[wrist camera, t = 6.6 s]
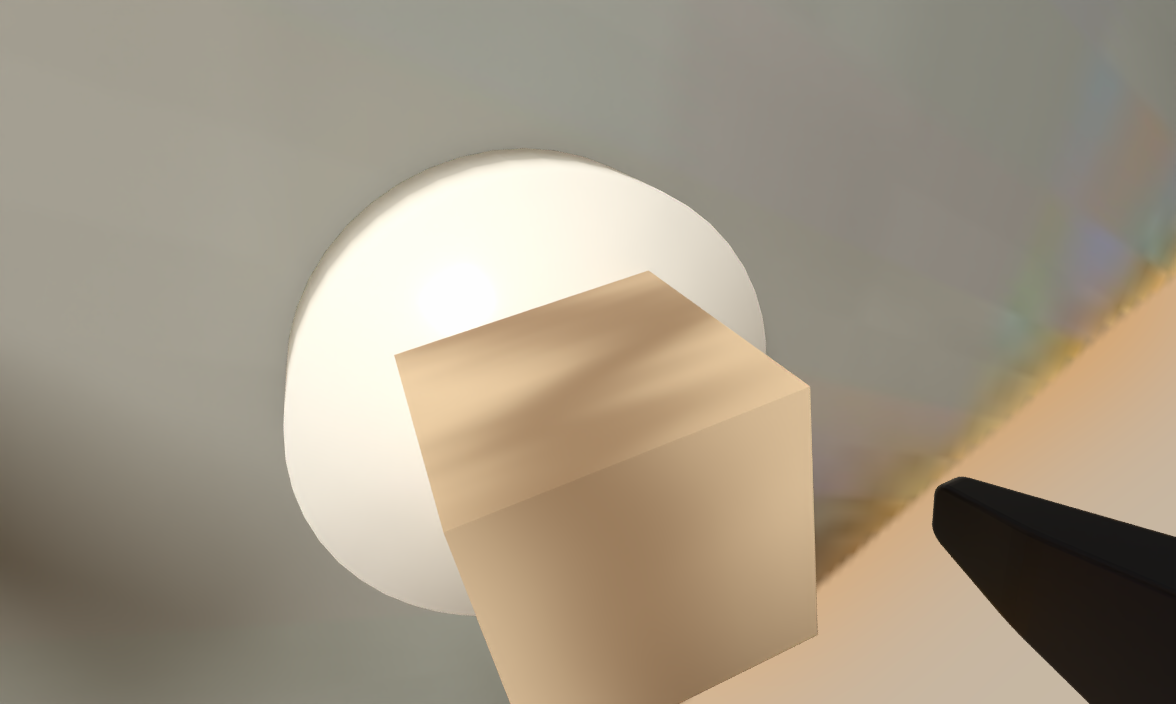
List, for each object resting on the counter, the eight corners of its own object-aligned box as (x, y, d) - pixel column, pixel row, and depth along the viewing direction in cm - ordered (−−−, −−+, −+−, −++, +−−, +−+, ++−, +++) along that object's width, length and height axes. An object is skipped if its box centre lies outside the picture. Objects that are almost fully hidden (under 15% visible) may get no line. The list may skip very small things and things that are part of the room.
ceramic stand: (684, 94, 15) (748, 107, 13) (726, 458, 20) (777, 511, 18) (196, 230, 12) (175, 272, 10) (380, 602, 17) (391, 682, 15)
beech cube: (648, 270, 13) (809, 386, 9) (679, 470, 16) (817, 634, 12) (393, 354, 12) (443, 532, 8) (469, 555, 15) (538, 773, 10)
